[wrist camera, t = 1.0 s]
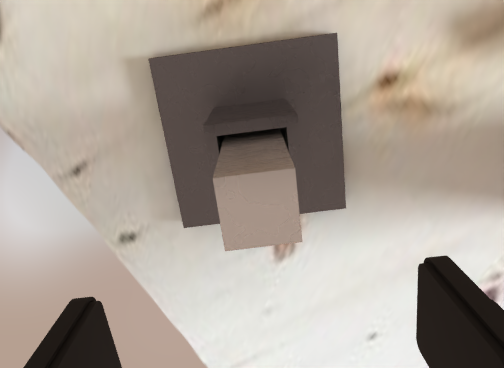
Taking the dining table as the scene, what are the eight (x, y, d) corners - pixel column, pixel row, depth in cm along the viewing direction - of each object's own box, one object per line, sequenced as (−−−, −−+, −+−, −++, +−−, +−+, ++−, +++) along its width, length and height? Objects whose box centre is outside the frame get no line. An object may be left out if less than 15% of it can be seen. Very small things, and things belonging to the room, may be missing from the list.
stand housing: (333, 33, 33) (367, 26, 23) (342, 202, 38) (373, 251, 29) (152, 58, 33) (115, 61, 24) (186, 221, 39) (166, 276, 29)
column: (274, 113, 33) (297, 165, 18) (279, 158, 35) (304, 243, 19) (227, 119, 33) (210, 176, 18) (234, 164, 35) (223, 252, 20)
